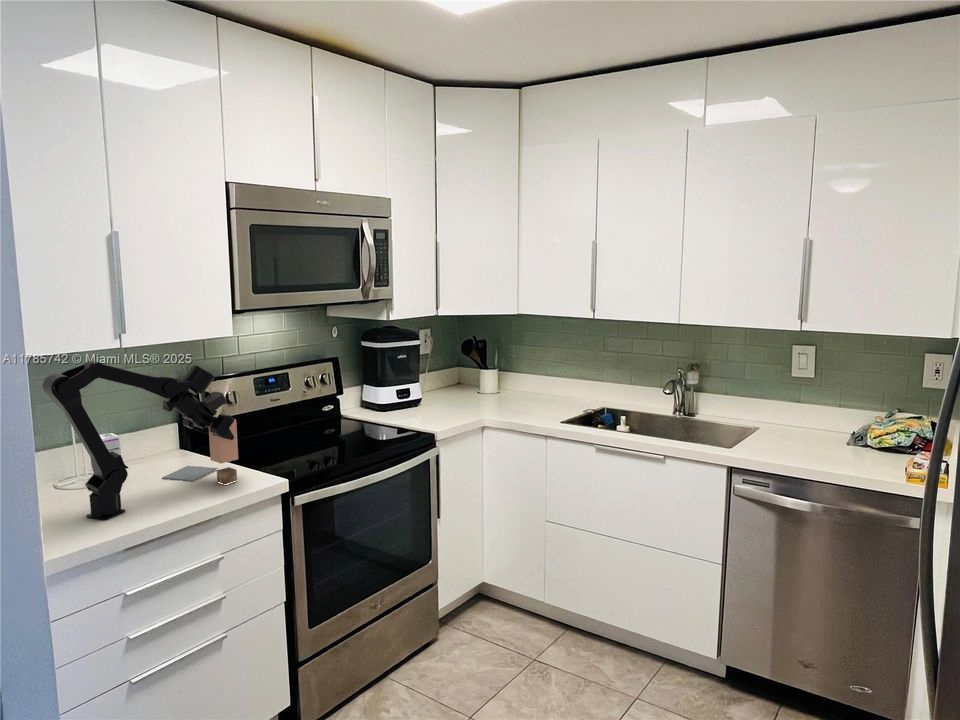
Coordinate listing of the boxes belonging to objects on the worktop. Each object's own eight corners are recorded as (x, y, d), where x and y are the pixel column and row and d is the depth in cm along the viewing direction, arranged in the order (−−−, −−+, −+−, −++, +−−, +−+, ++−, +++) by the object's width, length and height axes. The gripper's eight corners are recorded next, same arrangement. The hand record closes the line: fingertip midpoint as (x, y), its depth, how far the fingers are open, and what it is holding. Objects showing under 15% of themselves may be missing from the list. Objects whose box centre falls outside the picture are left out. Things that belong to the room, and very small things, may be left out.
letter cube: (224, 486, 196) (223, 473, 195) (217, 483, 198) (216, 470, 198) (237, 482, 199) (236, 469, 199) (229, 479, 202) (229, 467, 201)
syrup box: (124, 482, 199) (120, 435, 197) (103, 487, 195) (98, 439, 192) (117, 478, 203) (113, 432, 201) (96, 483, 198) (91, 435, 196)
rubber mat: (193, 481, 200) (193, 480, 200) (162, 479, 202) (161, 477, 202) (218, 469, 211) (218, 468, 211) (187, 467, 214) (187, 465, 214)
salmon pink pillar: (221, 463, 194) (218, 423, 193) (210, 460, 198) (208, 420, 196) (238, 459, 199) (236, 419, 197) (227, 455, 202) (225, 417, 200)
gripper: (226, 388, 186) (262, 419, 197) (190, 380, 197) (225, 410, 208) (201, 420, 181) (239, 451, 192) (165, 411, 192) (203, 440, 203)
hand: (227, 437), depth 199 cm, fingers closed on salmon pink pillar, 6 cm apart
